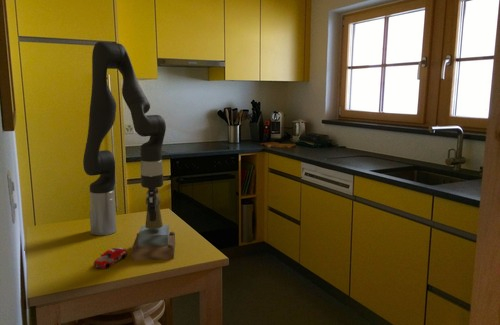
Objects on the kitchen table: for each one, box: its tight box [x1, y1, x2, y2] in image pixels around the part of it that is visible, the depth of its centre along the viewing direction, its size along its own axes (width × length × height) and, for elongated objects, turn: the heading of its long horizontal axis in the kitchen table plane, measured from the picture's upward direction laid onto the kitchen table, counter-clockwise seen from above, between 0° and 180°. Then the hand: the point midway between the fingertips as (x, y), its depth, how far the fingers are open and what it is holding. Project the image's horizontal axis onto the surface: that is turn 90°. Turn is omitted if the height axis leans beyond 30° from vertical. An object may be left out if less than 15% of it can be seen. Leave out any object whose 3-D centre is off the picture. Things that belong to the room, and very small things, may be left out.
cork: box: [144, 195, 164, 229], centre depth 147 cm, size 6×6×11 cm
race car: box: [93, 247, 128, 270], centre depth 140 cm, size 13×5×4 cm, turn 156°
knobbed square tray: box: [131, 224, 176, 261], centre depth 149 cm, size 14×14×8 cm
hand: (153, 219), depth 147 cm, fingers closed on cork, 3 cm apart
